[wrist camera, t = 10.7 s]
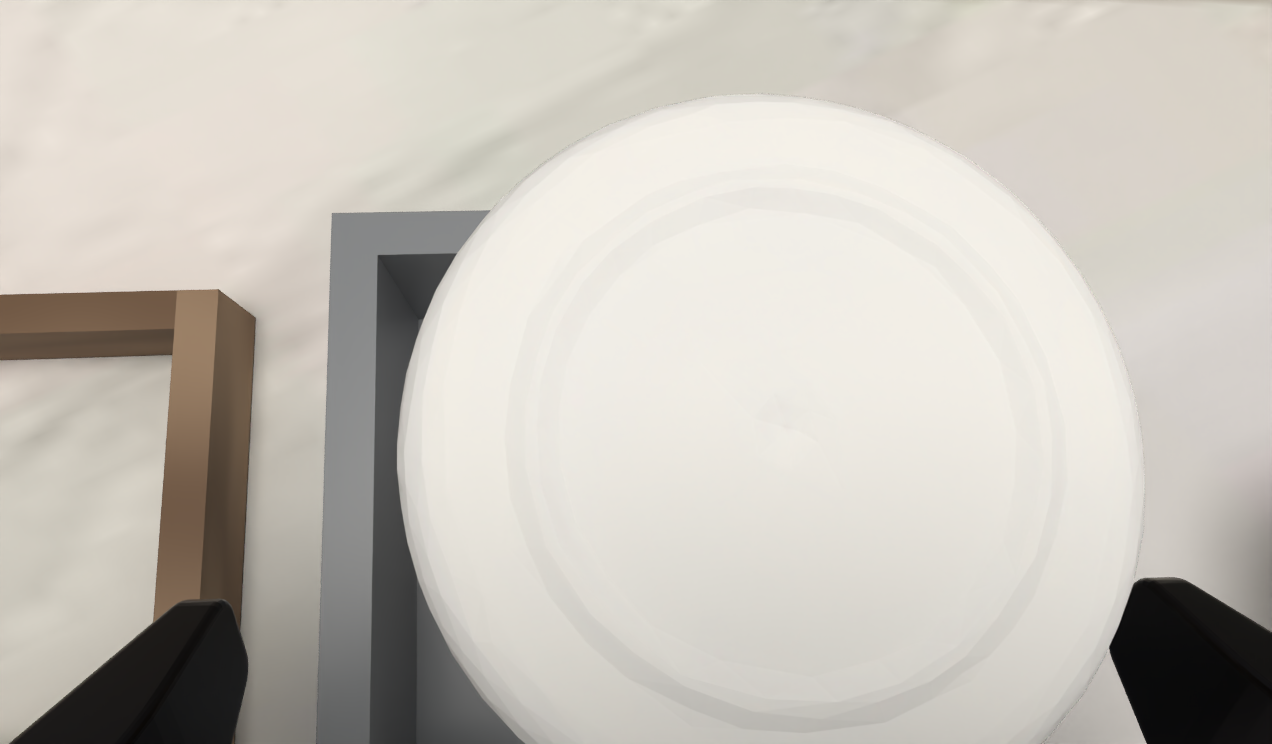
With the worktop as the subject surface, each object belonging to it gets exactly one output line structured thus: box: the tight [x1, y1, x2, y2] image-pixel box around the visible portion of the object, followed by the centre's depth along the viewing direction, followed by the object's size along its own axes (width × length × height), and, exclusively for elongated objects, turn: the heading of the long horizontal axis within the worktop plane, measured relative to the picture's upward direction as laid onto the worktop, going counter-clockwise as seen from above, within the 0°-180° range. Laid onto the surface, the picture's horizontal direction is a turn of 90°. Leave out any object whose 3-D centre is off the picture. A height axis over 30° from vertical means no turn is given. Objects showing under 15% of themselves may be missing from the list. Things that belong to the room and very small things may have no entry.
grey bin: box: [316, 210, 525, 744], centre depth 16 cm, size 11×11×4 cm
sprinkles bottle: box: [397, 93, 1145, 744], centre depth 11 cm, size 5×5×14 cm
